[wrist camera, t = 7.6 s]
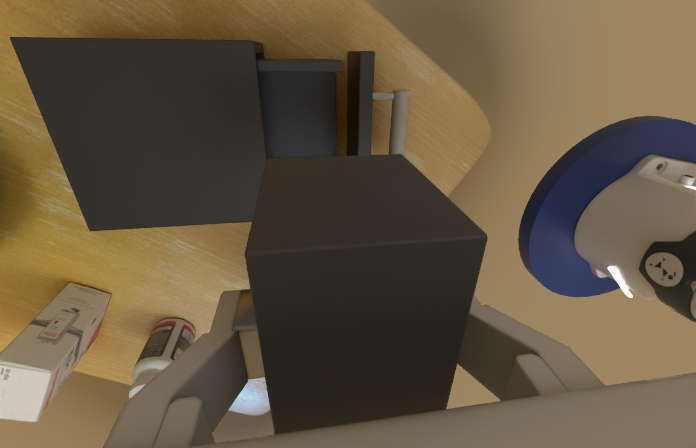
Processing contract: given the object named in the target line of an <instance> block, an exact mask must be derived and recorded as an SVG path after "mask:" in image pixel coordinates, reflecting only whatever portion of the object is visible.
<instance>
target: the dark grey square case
mask: <svg viewBox="0 0 696 448" xmlns="http://www.w3.org/2000/svg"><path fill="white" fill-rule="evenodd" d="M10 39H11V42H12V44H13V47H14V49H15V51H16V54H17V56H18V59H19V61H20V64H21V66H22V68H23V71H24V73H25V76H26V78H27V80H28V83H29V85H30V88H31V90H32V93H33V95H34V97H35V100H36V102H37V105H38V107H39V109H40V112H41V114H42V117H43V119H44V122H45V124H46V126H47V129H48V131H49V134H50V136H51V138H52V141H53V143H54V146H55V148H56V151H57V153H58V155H59V158H60V160H61V163H62V165H63V168H64V170H65V172H66V175H67V177H68V180H69V182H70V184H71V187H72V189H73V192H74V194H75V197H76V199H77V201H78V204H79V206H80V209H81V211H82V213H83V216H84V218H85V221H86V223H87V226H88V228H89V230H90V231H100V230H118V229H135V228H152V227H169V226H186V225H203V224H221V223H238V222H252V221H253V217H254V213H255V208H256V204H257V200H258V196H259V191H260V187H261V183H262V179H263V175H264V170H265V166H266V162H267V151H266V142H265V132H264V123H263V114H262V105H261V96H260V87H259V77H258V68H257V59H265V58H264V48H263V44H262V43H259V42H256V41H246V40H178V39H110V38H42V37H10Z"/></svg>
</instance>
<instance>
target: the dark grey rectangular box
mask: <svg viewBox="0 0 696 448" xmlns="http://www.w3.org/2000/svg"><path fill="white" fill-rule="evenodd" d="M486 243H487V234H485V232H484V231H483V230H482V229H481V228H479V227H478V226H477V225H476V224H475V223H474V222H473V221H472V220H471V219H470V218H469V217H468V216H466V214H464V212H462V211H461V210H460V209H459V208H458V207H457V206H456V205H455V204H454V203H453V202H452V201H451V200H450V199H448V197H447V196H445V195H444V194H443V193H442V192H441V191H440V190H439V189H438V188H437V187H436V186H435V185H434V184H433V183H432V182H431V181H430V180H428V179H427V178H426V177H425V176H424V175H423V174H422V173H421V172H420V171H419V170H418V169H417V168H416V167H415V166H414V165H413V164H411V163H410V162H409V161H408V160H407V159H406V158H405V157H404V156H403V155H402V154H389V155H360V156H330V157H301V158H271V159H267V162H266V166H265V170H264V175H263V179H262V183H261V187H260V191H259V196H258V200H257V204H256V208H255V213H254V217H253V221H252V225H251V230H250V234H249V238H248V242H247V247H246V251H245V259H246V265H247V271H248V277H249V283H250V289H251V295H252V301H253V307H254V313H255V319H256V325H257V331H258V337H259V343H260V349H261V355H262V361H263V367H264V373H265V379H266V385H267V391H268V397H269V403H270V409H271V415H272V421H273V427H274V433H275V434H282V433H288V432H295V431H302V430H309V429H316V428H322V427H329V426H336V425H343V424H350V423H357V422H363V421H370V420H377V419H384V418H391V417H397V416H404V415H411V414H418V413H425V412H432V411H438V410H445V409H446V407H447V403H448V399H449V395H450V391H451V387H452V383H453V378H454V374H455V370H456V366H457V362H458V358H459V354H460V350H461V346H462V342H463V337H464V333H465V329H466V325H467V321H468V317H469V313H470V309H471V304H472V300H473V296H474V292H475V288H476V284H477V280H478V276H479V271H480V267H481V263H482V259H483V255H484V251H485V247H486Z"/></svg>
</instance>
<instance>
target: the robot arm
mask: <svg viewBox="0 0 696 448" xmlns="http://www.w3.org/2000/svg"><path fill="white" fill-rule="evenodd" d="M574 245H575V249H576V251H577V253H578V254H579V255H580V257H582V258H583V259H584V260H586V261H587V262H588V263H589V265H590V268H591V271H592V273H593V274H594V275H596V276H598V277H599V278H604V277H608V276H609V277H610V278H612V279H614V280H615V281H617V282H618V284H619V285H620V287H621V288H622V290H623V291H624V293H625V294H626V295H627V296H629V297H630V298H631V297H632V295H631V293H630V292H629V290H628V289H627V288H629V289H631V290H632V291H634V292H636V293H638V294H639V295H641V296H642V297H644V298H646V299H649V300H653V299H659V300H660V301H662V302H663V303H665V304H666V305H668V306H669V307H670V308H671V309H672V310H674V311H675V312H677V313H678V314H680V315H683V316H685V317H686V318H688V319H690V320H691V321H694V322H696V163H692V162H687V161H682V160H677V159H673V158H668V157H663V156H658V155H648V156H646V157H644V158H643V159H642V160H641V161H640V162H639V163H638V164H636V165H635V167H634V168H633V169H632V170H631V171H630V172H629V173H627V174H626V175H624V176H623V177H621V178H620V179H618V180H616V181H615V182H613V183H611V184H610V185H609V186H607V187H606V188H605V189H603V190H602V191H601V192H600V193H599V194H598V195H597V196H596V197H595V198H594V199H593V200H592V201H591V202H590V203H589V205H588V206H587V207H586V209H585V210H584V212H583V213H582V215H581V217H580V219H579V221H578V223H577V226H576V229H575V234H574ZM457 363H458V364H459V365H460V366H461V367H462V368H463V369H465V370H466V371H468V373H469V374H471V375H472V376H473V377H474V378H475V379H476V380H478V381H479V382H480V383H481V384H482V385H483V386H485V387H486V388H487V389H488V390H489V391H491V392H492V393H493V394H494V395H495V396H496V397H498V398H499V399H500V400H501V401H499V402H492V403H486V404H479V405H472V406H465V407H459V408H452V409H445V410H438V411H432V412H425V413H418V414H411V415H404V416H397V417H391V418H384V419H377V420H370V421H363V422H357V423H350V424H343V425H336V426H329V427H322V428H316V429H309V430H302V431H295V432H288V433H282V434H275V435H268V436H262V437H254V438H248V439H241V440H234V441H227V442H220V443H215V441H214V438H213V435H212V432H213V431H214V429H215V428H216V427H217V425H218V424H219V422H220V421H221V419H222V418H223V416H224V415H225V413H226V412H227V411H228V409H229V408H230V406H231V405H232V404H233V402H234V401H235V399H236V398H237V396H238V395H239V393H240V392H241V391H242V389H243V388H244V386H245V385H246V383H247V382H248V379H255V378H261V377H265V373H264V367H263V361H262V355H261V349H260V343H259V337H258V331H257V325H256V319H255V313H254V307H253V301H252V295H251V289H246V290H234V291H224V292H223V293H222V294H221V296H220V300H219V303H218V306H217V310H216V313H215V316H214V320H213V323H212V327H211V330H210V333H206V334H203V335H202V336H201V337H200V338H199V339H197V340H196V341H195V342H194V343H193V344H192V345H191V346H189V347H188V348H187V349H186V350H185V351H184V352H183V353H181V354H180V355H179V356H178V357H177V358H176V359H175V360H173V361H172V362H171V363H170V364H169V365H168V366H167V367H165V368H164V369H163V370H162V371H161V372H160V373H159V374H157V375H156V376H155V377H154V378H153V379H152V380H151V381H149V382H148V383H147V384H146V385H145V386H144V387H143V388H141V389H140V390H139V391H138V392H137V393H136V394H135V395H133V396H132V397H131V398H130V399H129V400H128V401H127V402H125V403H124V405H123V407H122V410H121V412H120V413H119V416H118V418H117V420H116V422H115V424H114V426H113V428H112V430H111V432H110V434H109V436H108V438H107V440H106V442H105V445H104V447H103V448H696V373H690V374H683V375H676V376H670V377H663V378H656V379H649V380H643V381H636V382H629V383H622V384H616V385H608V386H605V385H604V384H603V383H602V382H601V381H600V380H599V379H598V377H597V376H596V375H595V374H594V373H593V372H592V371H591V370H590V369H589V368H588V367H587V366H586V365H585V364H584V363H583V362H582V360H581V359H580V358H579V357H578V356H577V355H576V354H575V353H574V352H573V351H572V350H571V349H570V348H569V347H567V346H565V345H563V344H562V343H560V342H558V341H556V340H554V339H552V338H550V337H548V336H546V335H544V334H542V333H540V332H538V331H536V330H534V329H533V328H530V327H529V326H527V325H525V324H523V323H520V322H519V321H517V320H515V319H513V318H511V317H509V316H507V315H506V314H504V313H501V312H500V311H498V310H496V309H494V308H492V307H490V306H488V305H481V303H480V302H479V301H478V300H477V298H476V297H475V296H473V300H472V304H471V309H470V313H469V317H468V321H467V325H466V329H465V333H464V337H463V342H462V346H461V350H460V354H459V358H458V362H457Z"/></svg>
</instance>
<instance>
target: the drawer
mask: <svg viewBox="0 0 696 448" xmlns="http://www.w3.org/2000/svg"><path fill="white" fill-rule="evenodd" d="M374 59H375V52H374V51H348V69H347V156H360V155H370V154H371V130H372V106H373V100H392V115H391V129H390V144H389V154H402V155H403V156H404V154H405V143H406V132H407V121H408V110H409V99H410V90H403V89H397V90H393V93H392V92H373V82H374ZM257 68H258V77H259V87H260V96H261V105H262V114H263V123H264V132H265V142H266V151H267V159H271V158H301V157H330V156H336V72H343V61H340V60H334V59H257Z"/></svg>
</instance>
